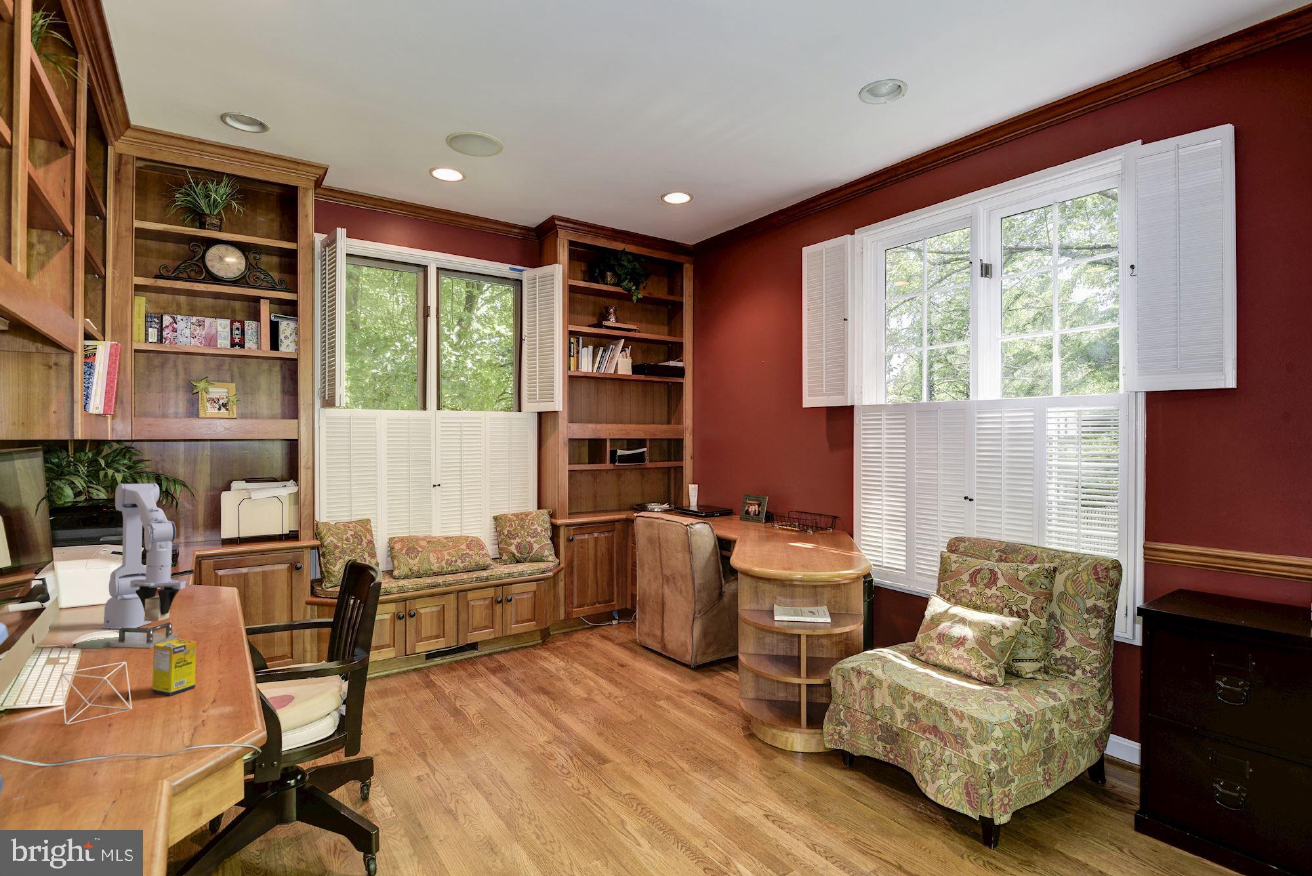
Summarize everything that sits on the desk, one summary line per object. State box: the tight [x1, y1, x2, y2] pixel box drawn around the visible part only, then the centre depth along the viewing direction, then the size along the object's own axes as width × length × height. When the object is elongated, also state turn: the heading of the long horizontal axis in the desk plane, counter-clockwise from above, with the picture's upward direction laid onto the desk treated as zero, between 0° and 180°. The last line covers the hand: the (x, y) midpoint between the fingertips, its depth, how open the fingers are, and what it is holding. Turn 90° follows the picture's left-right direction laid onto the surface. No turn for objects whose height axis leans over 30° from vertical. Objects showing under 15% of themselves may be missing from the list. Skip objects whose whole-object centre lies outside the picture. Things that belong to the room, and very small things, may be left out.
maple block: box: [144, 595, 171, 622], centre depth 190 cm, size 4×4×6 cm
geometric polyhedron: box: [60, 661, 133, 725], centre depth 141 cm, size 12×11×9 cm
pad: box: [75, 629, 137, 650], centre depth 191 cm, size 7×14×1 cm, turn 178°
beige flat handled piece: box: [108, 621, 179, 649], centre depth 190 cm, size 12×10×5 cm
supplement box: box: [151, 638, 198, 697], centre depth 155 cm, size 6×6×11 cm
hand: (156, 613), depth 189 cm, fingers closed on maple block, 4 cm apart
